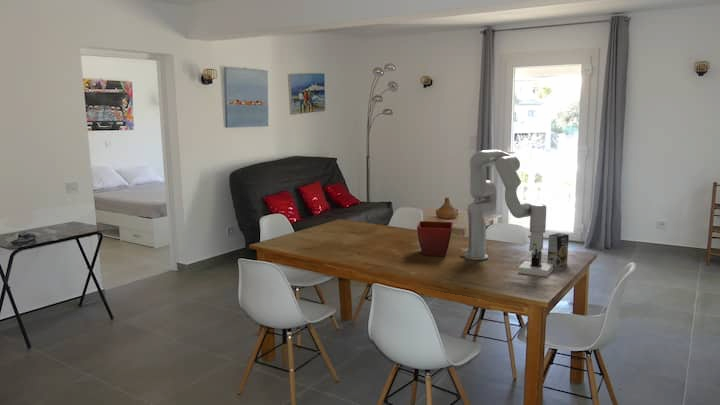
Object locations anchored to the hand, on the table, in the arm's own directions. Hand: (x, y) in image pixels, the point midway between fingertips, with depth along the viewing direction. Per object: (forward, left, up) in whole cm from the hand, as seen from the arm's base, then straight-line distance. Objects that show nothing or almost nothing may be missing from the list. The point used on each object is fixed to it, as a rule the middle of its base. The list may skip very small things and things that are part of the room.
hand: (536, 264), depth 280 cm
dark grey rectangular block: (0, 0, -2) cm, 2 cm away
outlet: (0, 0, -4) cm, 4 cm away
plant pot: (-59, +11, -4) cm, 60 cm away
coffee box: (+7, +19, -4) cm, 21 cm away
